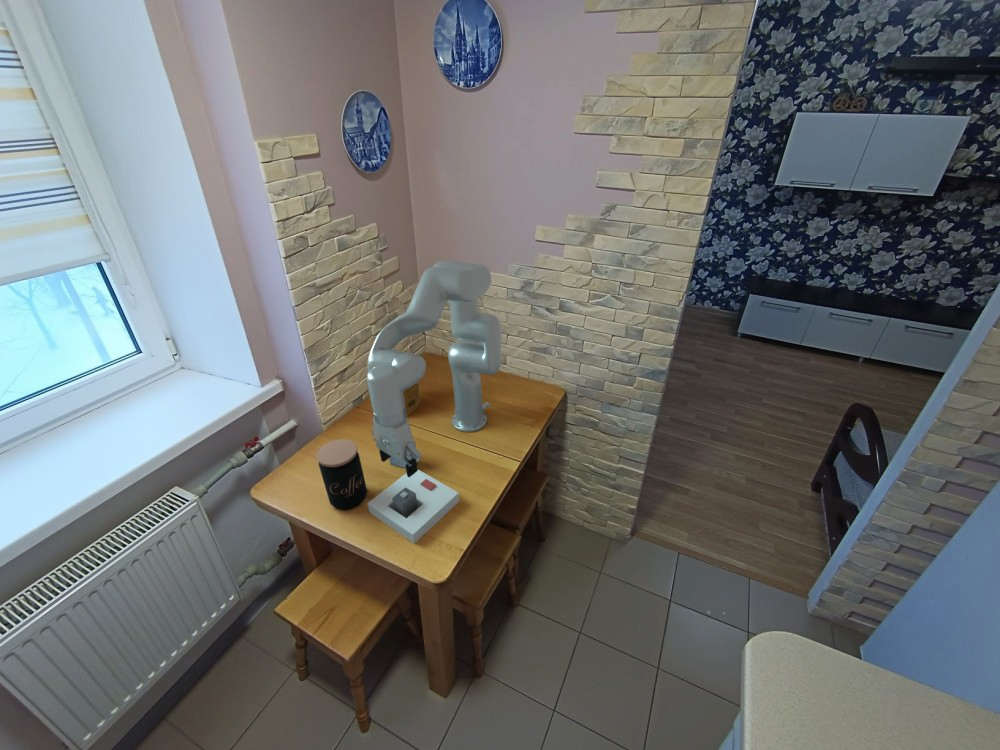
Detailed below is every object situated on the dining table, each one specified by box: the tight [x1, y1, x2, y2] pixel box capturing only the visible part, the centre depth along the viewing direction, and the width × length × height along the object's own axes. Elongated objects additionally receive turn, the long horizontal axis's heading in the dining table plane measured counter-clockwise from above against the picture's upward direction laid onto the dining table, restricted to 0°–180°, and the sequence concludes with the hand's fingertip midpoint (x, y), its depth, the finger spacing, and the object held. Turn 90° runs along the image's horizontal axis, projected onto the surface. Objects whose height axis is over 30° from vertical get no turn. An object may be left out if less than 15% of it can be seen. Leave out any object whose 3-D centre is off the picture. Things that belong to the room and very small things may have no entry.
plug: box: [392, 487, 418, 518], centre depth 127 cm, size 5×4×8 cm
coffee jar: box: [316, 438, 368, 511], centre depth 129 cm, size 11×11×18 cm
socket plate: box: [366, 469, 460, 544], centre depth 130 cm, size 18×18×4 cm
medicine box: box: [388, 440, 419, 469], centre depth 144 cm, size 8×4×9 cm, turn 71°
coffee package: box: [401, 350, 421, 419], centre depth 166 cm, size 10×12×22 cm
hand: (399, 466), depth 120 cm, fingers open, 9 cm apart
